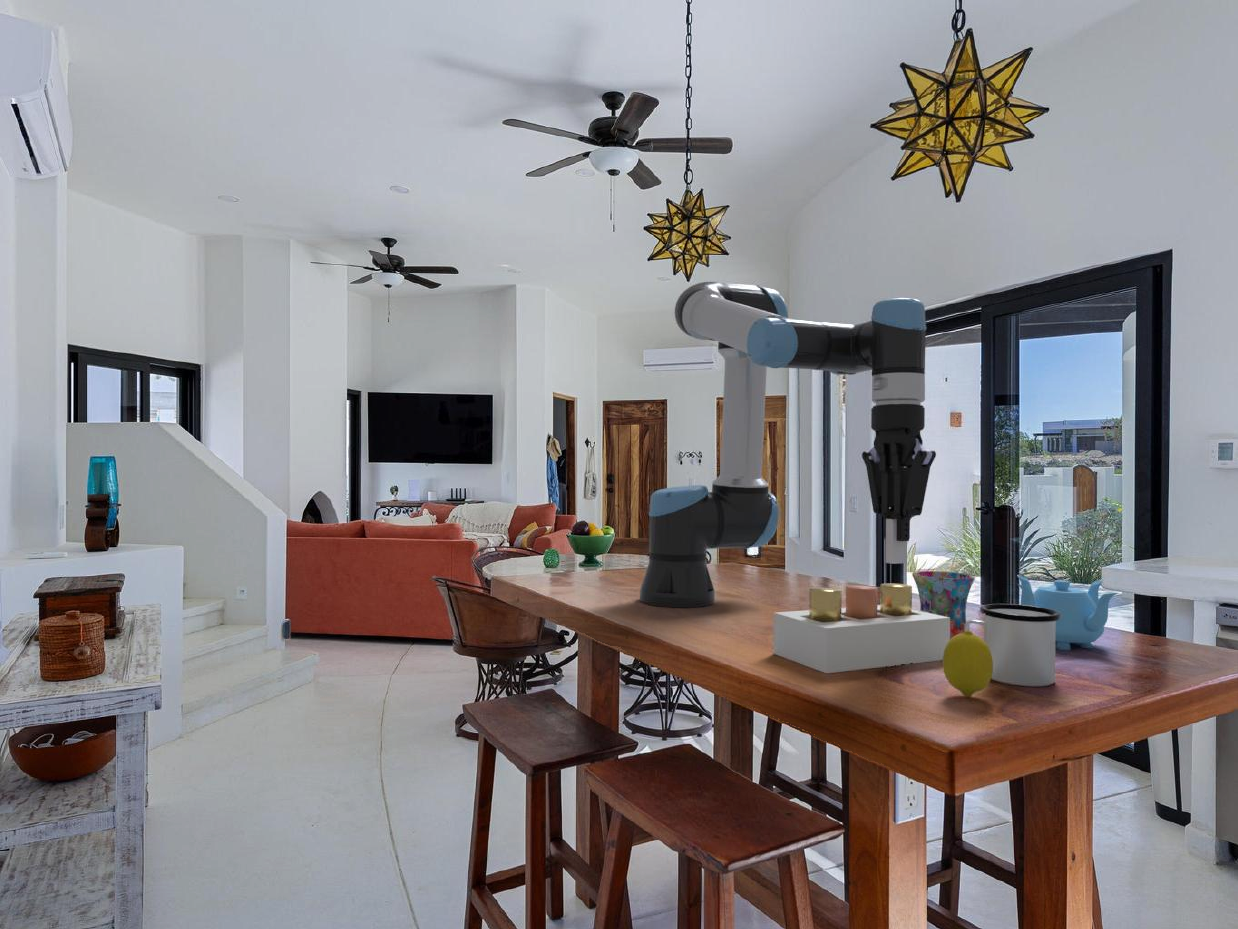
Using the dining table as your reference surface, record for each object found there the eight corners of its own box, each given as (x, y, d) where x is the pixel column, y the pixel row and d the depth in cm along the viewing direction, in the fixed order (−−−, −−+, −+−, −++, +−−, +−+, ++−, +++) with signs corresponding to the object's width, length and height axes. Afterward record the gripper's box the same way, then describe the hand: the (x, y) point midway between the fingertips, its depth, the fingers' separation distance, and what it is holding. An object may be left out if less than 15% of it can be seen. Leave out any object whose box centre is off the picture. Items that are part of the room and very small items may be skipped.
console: (773, 653, 116) (774, 612, 116) (889, 642, 125) (890, 604, 125) (826, 673, 105) (826, 628, 105) (949, 659, 114) (950, 617, 114)
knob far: (873, 617, 119) (874, 584, 119) (896, 615, 121) (896, 582, 121) (895, 622, 115) (895, 588, 115) (918, 620, 117) (918, 586, 117)
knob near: (802, 623, 114) (803, 588, 114) (827, 621, 115) (828, 586, 116) (822, 629, 110) (822, 593, 110) (847, 627, 111) (848, 591, 111)
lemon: (951, 688, 99) (952, 624, 99) (998, 696, 95) (999, 630, 95) (935, 697, 95) (936, 630, 95) (984, 706, 91) (985, 637, 91)
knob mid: (839, 620, 116) (839, 586, 116) (862, 618, 118) (863, 584, 118) (859, 625, 112) (860, 590, 112) (883, 623, 114) (884, 589, 114)
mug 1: (954, 650, 120) (955, 580, 120) (899, 639, 127) (900, 573, 127) (994, 640, 127) (994, 574, 127) (940, 631, 135) (941, 568, 135)
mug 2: (1072, 680, 103) (1073, 611, 103) (1040, 693, 97) (1041, 619, 97) (981, 662, 113) (982, 598, 113) (947, 672, 107) (948, 605, 107)
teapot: (1016, 633, 134) (1016, 573, 134) (1107, 641, 128) (1107, 578, 128) (1017, 648, 122) (1017, 582, 123) (1117, 657, 117) (1118, 589, 117)
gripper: (848, 406, 122) (846, 559, 122) (910, 399, 111) (909, 569, 110) (886, 408, 125) (884, 557, 125) (951, 402, 114) (949, 567, 113)
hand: (896, 562), depth 118 cm, fingers closed
